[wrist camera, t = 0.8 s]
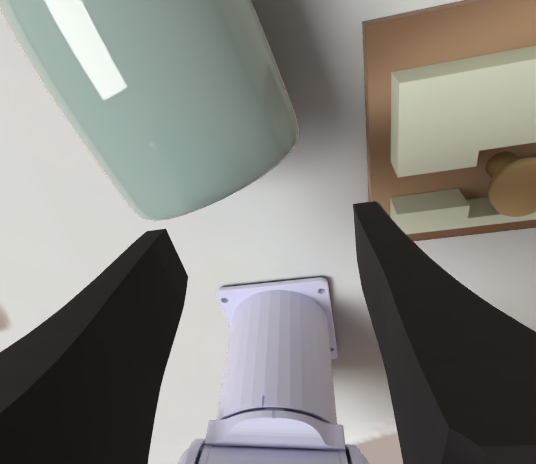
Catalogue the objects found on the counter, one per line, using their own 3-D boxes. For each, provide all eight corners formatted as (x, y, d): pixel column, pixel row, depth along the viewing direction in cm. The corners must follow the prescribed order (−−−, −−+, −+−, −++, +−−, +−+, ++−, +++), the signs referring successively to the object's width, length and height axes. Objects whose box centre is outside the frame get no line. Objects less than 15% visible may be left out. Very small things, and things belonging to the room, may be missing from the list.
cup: (170, -297, 7) (329, 148, 12) (179, -134, 14) (278, 110, 19) (-165, -114, 8) (121, 251, 12) (1, -40, 14) (144, 177, 19)
